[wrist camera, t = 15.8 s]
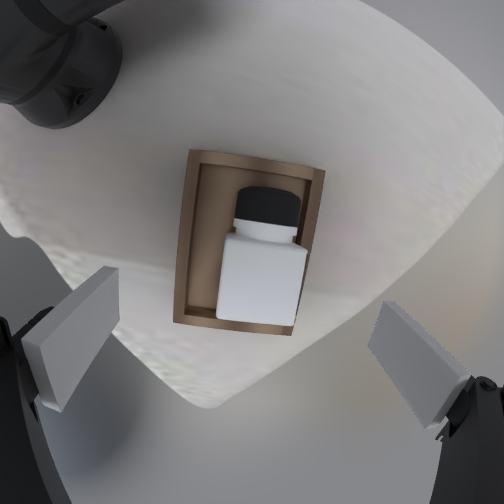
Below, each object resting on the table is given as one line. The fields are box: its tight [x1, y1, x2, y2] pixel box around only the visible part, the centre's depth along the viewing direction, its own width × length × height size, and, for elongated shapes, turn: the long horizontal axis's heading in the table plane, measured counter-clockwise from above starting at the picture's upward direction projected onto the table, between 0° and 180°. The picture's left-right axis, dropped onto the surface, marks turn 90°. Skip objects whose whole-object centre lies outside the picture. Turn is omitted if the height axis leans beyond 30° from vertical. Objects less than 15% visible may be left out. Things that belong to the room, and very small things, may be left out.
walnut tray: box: [173, 149, 325, 336], centre depth 30 cm, size 13×18×3 cm
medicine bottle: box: [216, 186, 308, 326], centre depth 27 cm, size 7×7×12 cm
